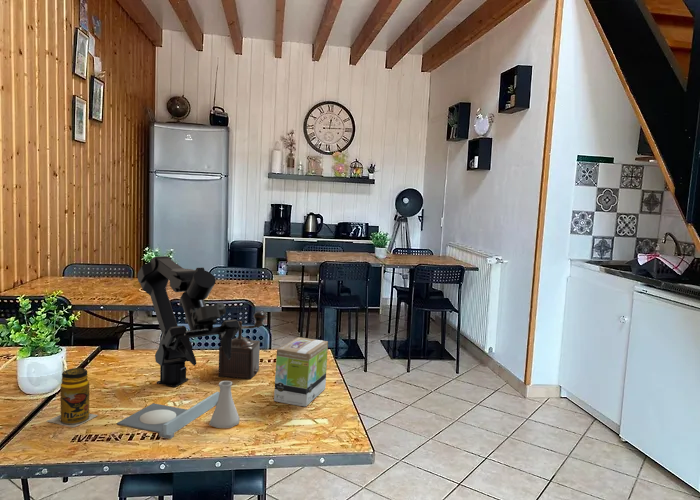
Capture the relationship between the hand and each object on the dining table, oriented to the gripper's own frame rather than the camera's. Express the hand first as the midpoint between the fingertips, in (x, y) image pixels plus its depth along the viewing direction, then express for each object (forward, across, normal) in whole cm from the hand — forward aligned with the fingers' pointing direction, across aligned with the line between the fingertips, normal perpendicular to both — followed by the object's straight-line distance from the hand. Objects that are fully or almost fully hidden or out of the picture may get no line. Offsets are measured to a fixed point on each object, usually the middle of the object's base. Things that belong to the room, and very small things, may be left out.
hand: (212, 361), depth 128 cm
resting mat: (+6, -12, +12) cm, 18 cm away
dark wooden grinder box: (-8, +22, +27) cm, 36 cm away
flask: (+15, 0, +4) cm, 15 cm away
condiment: (-1, -29, +20) cm, 35 cm away
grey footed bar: (+10, -5, +9) cm, 14 cm away
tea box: (+11, +26, +8) cm, 29 cm away
